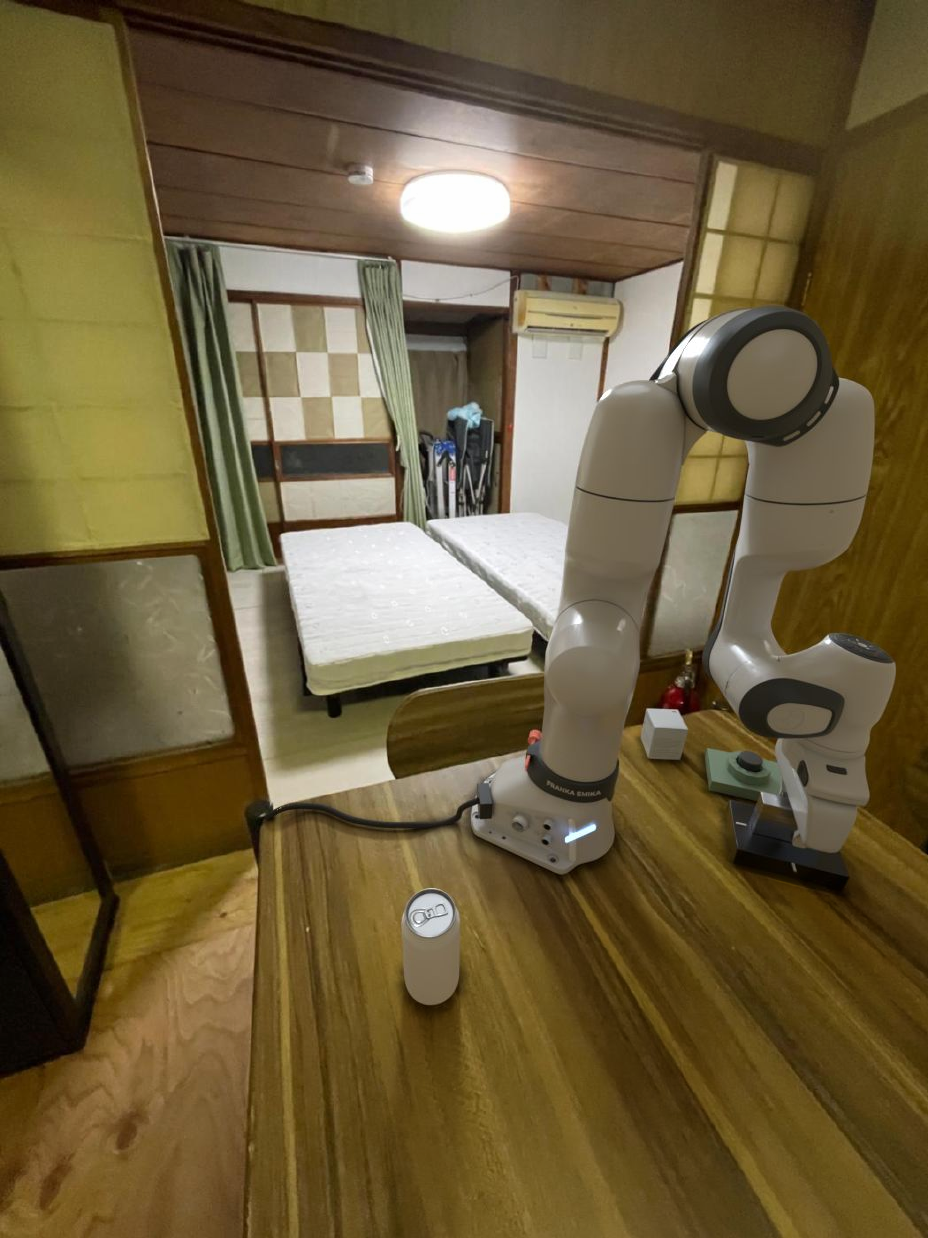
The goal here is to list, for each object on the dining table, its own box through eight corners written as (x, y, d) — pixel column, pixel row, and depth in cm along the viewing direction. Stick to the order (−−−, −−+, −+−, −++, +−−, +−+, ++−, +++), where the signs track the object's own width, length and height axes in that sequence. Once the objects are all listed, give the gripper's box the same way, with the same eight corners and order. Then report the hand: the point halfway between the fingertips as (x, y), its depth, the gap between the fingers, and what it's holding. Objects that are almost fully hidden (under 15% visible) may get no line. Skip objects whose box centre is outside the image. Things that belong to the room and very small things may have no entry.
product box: (639, 737, 101) (645, 707, 97) (671, 739, 100) (678, 708, 97) (647, 759, 95) (654, 727, 92) (681, 761, 95) (689, 729, 92)
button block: (709, 790, 88) (714, 772, 86) (704, 757, 96) (709, 740, 94) (787, 808, 85) (794, 790, 83) (776, 772, 93) (782, 754, 91)
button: (738, 769, 88) (741, 762, 87) (735, 756, 91) (738, 748, 90) (762, 774, 87) (764, 766, 86) (758, 761, 90) (761, 753, 89)
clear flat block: (752, 833, 76) (764, 802, 74) (749, 820, 79) (761, 790, 76) (821, 850, 74) (835, 818, 71) (816, 836, 76) (830, 805, 73)
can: (398, 961, 62) (393, 896, 57) (448, 941, 64) (448, 877, 59) (413, 1017, 57) (410, 951, 52) (467, 994, 59) (469, 928, 54)
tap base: (734, 872, 74) (739, 856, 73) (723, 805, 85) (728, 791, 84) (846, 901, 70) (854, 886, 69) (819, 828, 81) (826, 813, 80)
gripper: (778, 700, 79) (755, 769, 85) (813, 794, 61) (781, 873, 67) (825, 708, 77) (798, 778, 83) (875, 807, 59) (836, 887, 66)
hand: (790, 821), depth 75 cm, fingers open, 7 cm apart
